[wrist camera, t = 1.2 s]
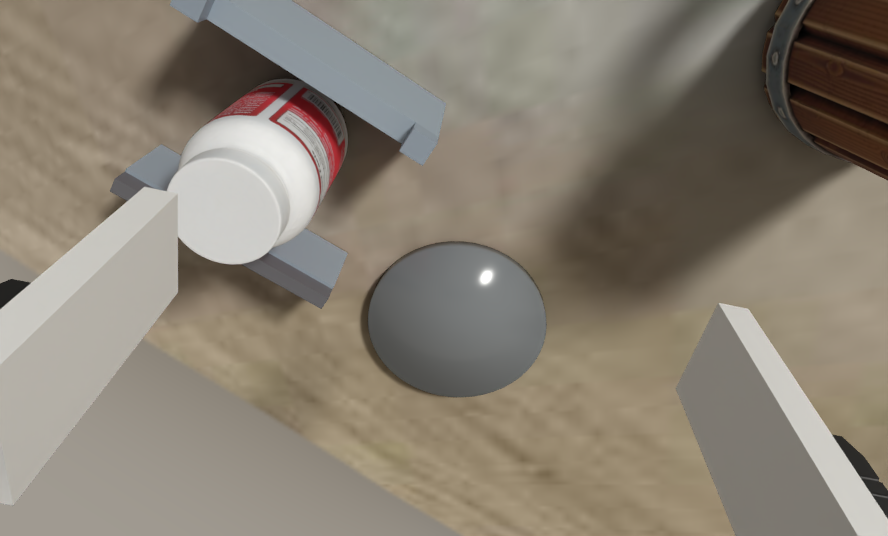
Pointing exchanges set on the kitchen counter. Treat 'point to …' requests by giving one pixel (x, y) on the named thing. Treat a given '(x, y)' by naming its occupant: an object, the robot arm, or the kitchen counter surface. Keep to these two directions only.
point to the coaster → (457, 319)
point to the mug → (832, 77)
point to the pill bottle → (258, 171)
